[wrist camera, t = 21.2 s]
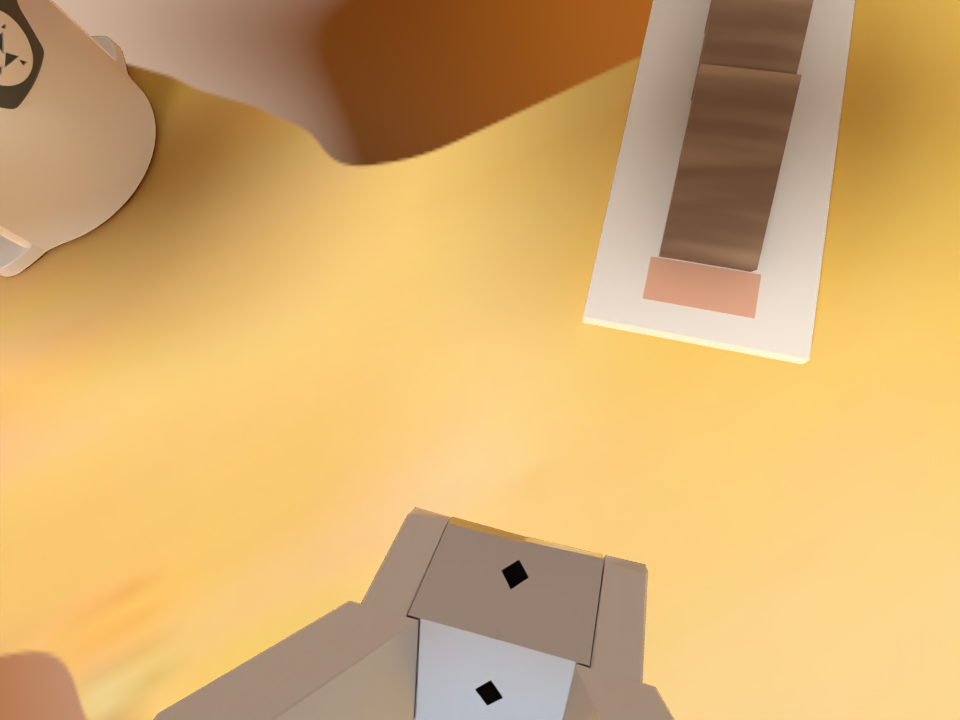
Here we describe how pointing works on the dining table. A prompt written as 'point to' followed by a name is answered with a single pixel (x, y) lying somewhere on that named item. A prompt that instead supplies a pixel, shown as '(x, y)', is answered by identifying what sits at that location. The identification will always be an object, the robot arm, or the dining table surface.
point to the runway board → (649, 185)
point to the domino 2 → (729, 166)
